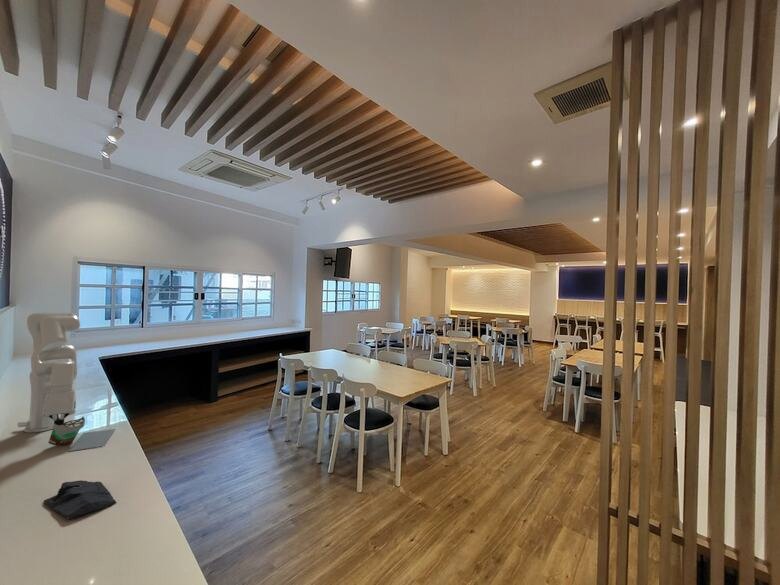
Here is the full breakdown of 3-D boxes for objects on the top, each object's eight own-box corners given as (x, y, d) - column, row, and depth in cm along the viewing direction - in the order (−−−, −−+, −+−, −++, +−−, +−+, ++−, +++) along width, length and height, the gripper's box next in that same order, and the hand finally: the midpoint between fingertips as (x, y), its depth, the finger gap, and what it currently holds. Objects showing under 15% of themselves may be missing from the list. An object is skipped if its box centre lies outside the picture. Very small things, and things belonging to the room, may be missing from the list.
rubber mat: (67, 452, 144) (67, 451, 144) (83, 433, 163) (83, 432, 164) (104, 446, 151) (104, 445, 151) (115, 429, 170) (115, 428, 170)
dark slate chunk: (56, 529, 98) (57, 513, 98) (41, 501, 111) (42, 487, 111) (120, 504, 111) (120, 490, 111) (100, 482, 123) (101, 469, 124)
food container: (53, 451, 145) (62, 431, 145) (44, 443, 147) (53, 424, 146) (84, 440, 157) (92, 422, 157) (75, 434, 159) (83, 415, 158)
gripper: (35, 392, 145) (32, 433, 144) (79, 388, 152) (77, 428, 151) (42, 388, 151) (39, 427, 151) (85, 385, 158) (82, 423, 158)
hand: (58, 428), depth 151 cm, fingers closed
